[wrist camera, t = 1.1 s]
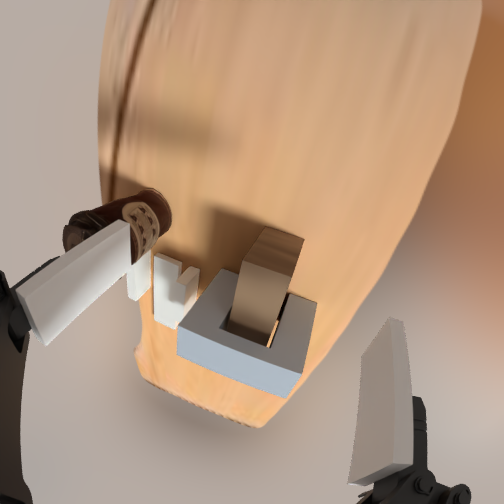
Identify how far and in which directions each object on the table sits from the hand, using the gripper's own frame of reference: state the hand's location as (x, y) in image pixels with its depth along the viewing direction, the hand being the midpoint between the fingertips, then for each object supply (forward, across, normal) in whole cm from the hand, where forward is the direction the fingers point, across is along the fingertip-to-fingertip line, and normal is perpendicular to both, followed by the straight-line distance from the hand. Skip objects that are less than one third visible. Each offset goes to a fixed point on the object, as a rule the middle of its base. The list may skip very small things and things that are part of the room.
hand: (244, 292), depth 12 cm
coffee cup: (+18, -17, -8) cm, 27 cm away
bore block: (+18, 0, -16) cm, 24 cm away
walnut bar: (+18, 0, -13) cm, 22 cm away
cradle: (+18, -15, -21) cm, 31 cm away
